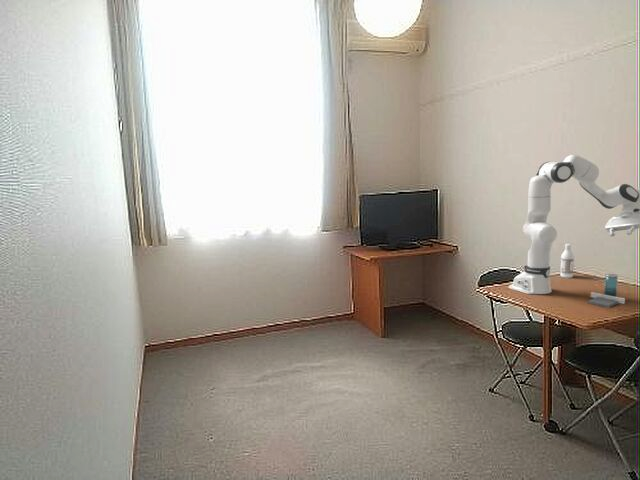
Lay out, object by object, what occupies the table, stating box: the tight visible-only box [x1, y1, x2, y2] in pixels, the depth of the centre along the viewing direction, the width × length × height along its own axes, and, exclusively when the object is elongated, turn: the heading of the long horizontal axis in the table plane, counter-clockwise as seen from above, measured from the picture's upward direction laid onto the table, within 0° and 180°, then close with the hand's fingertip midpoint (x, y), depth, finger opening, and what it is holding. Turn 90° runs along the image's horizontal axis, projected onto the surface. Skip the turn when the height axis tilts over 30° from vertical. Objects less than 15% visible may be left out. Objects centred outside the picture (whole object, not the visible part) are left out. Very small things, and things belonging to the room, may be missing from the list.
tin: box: [604, 273, 619, 297], centre depth 253 cm, size 6×6×12 cm
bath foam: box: [560, 243, 575, 279], centre depth 297 cm, size 7×7×20 cm
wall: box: [590, 291, 626, 305], centre depth 250 cm, size 16×1×2 cm, turn 35°
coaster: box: [587, 297, 619, 308], centre depth 246 cm, size 10×10×1 cm
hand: (620, 234), depth 256 cm, fingers open, 8 cm apart
